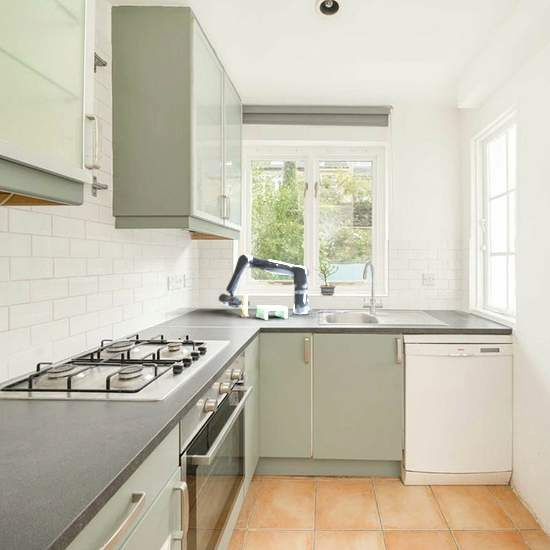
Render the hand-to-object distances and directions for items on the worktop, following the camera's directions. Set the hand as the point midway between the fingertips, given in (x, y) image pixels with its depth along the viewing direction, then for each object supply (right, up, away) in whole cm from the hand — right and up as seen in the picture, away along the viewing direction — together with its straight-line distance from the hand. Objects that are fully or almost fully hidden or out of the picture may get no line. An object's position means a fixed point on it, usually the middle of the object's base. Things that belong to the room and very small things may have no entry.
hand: (242, 304), depth 307 cm
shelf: (+19, -8, -7) cm, 22 cm away
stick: (+1, -8, -3) cm, 8 cm away
